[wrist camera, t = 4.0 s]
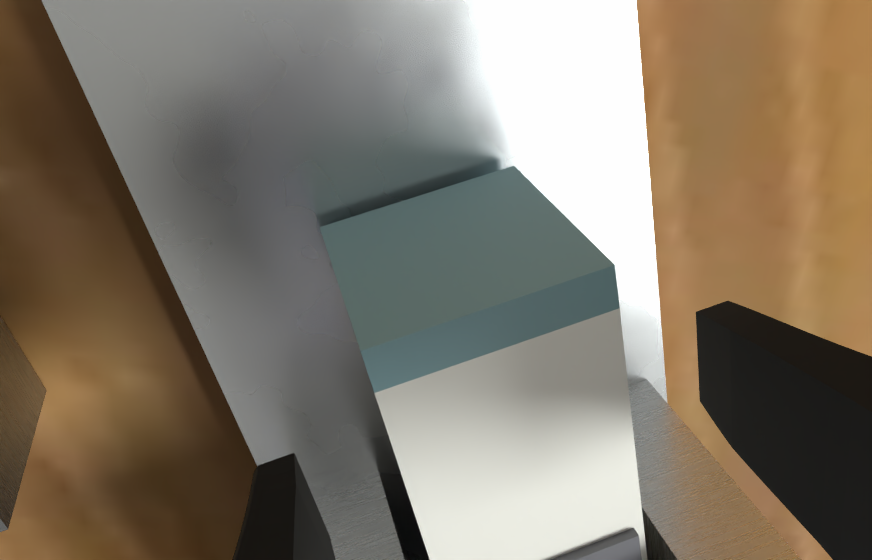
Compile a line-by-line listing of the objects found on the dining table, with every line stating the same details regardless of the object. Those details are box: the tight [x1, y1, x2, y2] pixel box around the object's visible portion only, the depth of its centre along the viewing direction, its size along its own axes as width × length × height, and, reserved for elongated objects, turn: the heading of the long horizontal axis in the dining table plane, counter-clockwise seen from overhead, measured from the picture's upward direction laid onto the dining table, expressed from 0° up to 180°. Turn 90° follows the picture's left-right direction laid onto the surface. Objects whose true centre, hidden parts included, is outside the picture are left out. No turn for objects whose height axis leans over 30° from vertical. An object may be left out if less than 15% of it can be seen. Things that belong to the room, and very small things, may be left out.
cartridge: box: [320, 166, 647, 560], centre depth 17 cm, size 14×4×5 cm, turn 13°
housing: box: [42, 0, 801, 560], centre depth 16 cm, size 21×10×7 cm, turn 13°
